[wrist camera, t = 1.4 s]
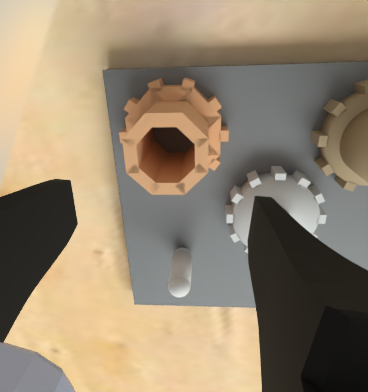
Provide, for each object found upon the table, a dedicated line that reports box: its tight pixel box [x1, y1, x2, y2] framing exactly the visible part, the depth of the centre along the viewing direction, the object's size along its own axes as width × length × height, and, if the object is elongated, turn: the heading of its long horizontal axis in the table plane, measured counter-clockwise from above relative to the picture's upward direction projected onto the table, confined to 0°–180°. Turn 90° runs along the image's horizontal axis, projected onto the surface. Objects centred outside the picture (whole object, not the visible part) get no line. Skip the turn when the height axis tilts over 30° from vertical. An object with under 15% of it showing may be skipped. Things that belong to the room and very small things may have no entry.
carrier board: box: [103, 61, 368, 308], centre depth 20 cm, size 21×20×7 cm
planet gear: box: [119, 77, 229, 195], centre depth 18 cm, size 7×7×6 cm
